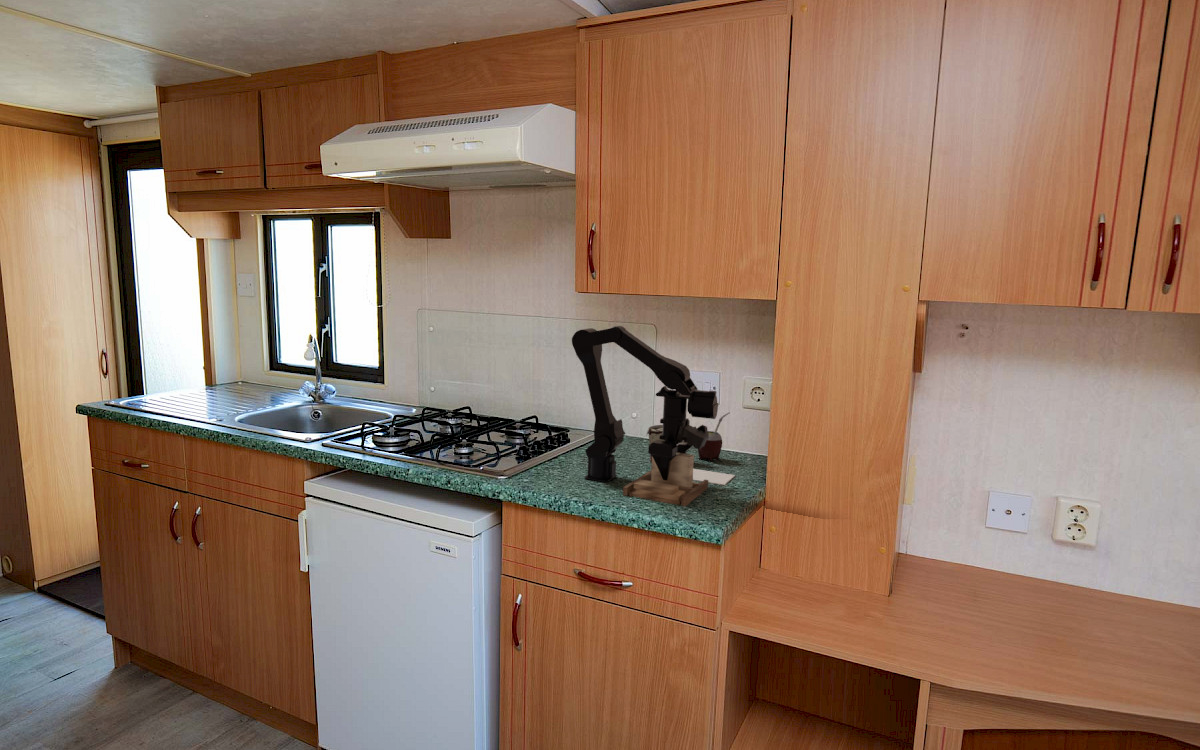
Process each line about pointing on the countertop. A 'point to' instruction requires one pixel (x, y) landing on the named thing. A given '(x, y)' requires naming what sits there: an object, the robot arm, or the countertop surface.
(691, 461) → the maple panel
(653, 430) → the food container
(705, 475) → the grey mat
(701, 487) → the rack
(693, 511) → the countertop surface
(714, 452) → the mate gourd
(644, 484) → the offcut stack
